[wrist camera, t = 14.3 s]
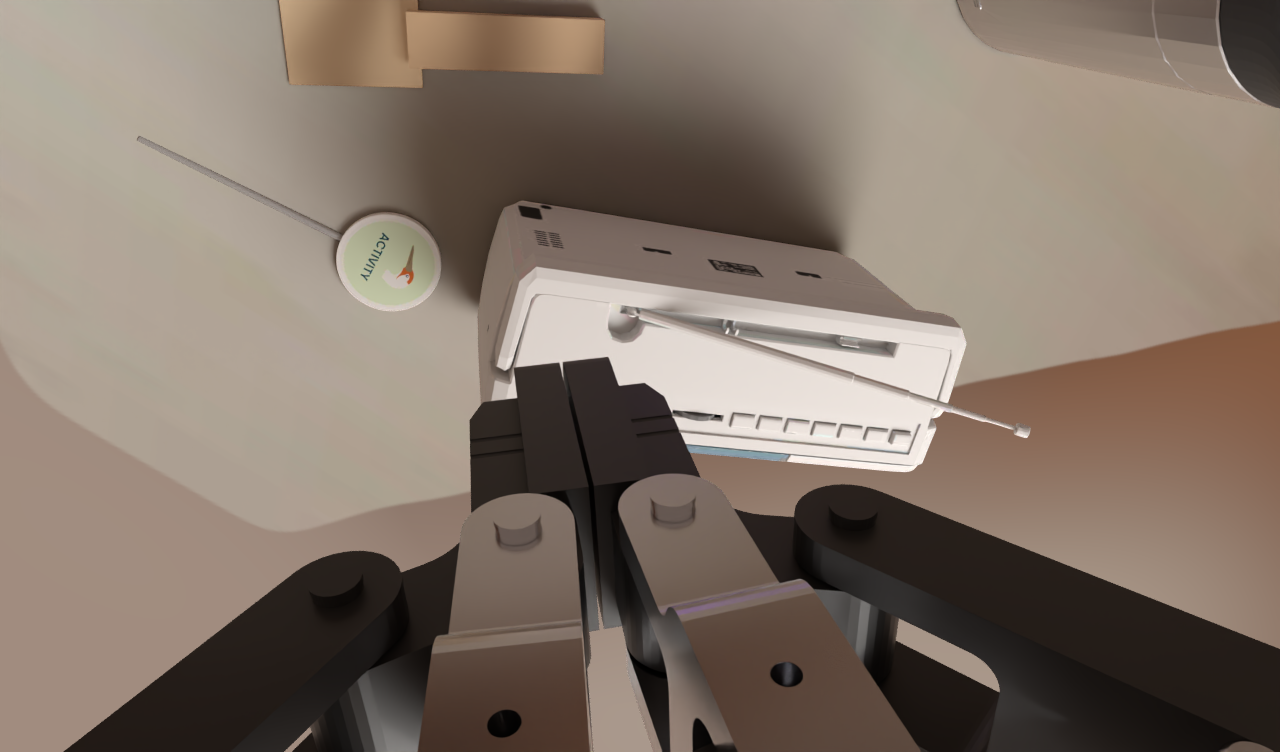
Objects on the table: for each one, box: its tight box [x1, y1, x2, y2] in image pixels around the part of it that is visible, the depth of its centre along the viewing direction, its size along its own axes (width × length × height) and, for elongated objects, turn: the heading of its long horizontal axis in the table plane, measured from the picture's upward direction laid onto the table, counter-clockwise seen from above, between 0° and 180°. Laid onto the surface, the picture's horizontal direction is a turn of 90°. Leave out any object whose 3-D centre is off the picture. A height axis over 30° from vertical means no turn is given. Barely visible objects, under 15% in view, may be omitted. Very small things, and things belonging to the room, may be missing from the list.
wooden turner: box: [279, 0, 605, 88], centre depth 40 cm, size 14×4×2 cm, turn 87°
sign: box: [138, 136, 441, 311], centre depth 42 cm, size 5×1×15 cm
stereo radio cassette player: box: [478, 200, 1030, 472], centre depth 39 cm, size 21×8×20 cm, turn 78°
